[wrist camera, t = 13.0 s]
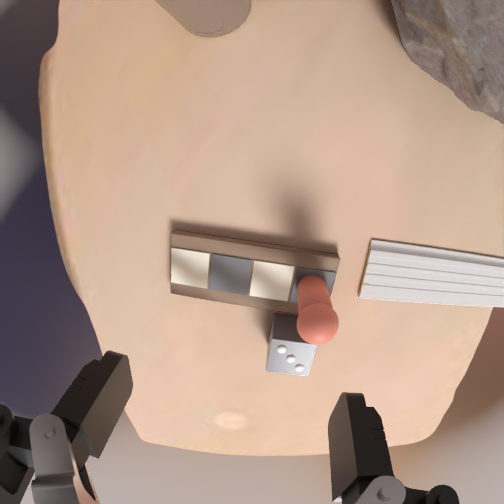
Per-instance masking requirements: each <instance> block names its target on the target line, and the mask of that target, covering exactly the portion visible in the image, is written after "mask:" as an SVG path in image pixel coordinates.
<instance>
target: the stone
mask: <svg viewBox="0 0 504 504" xmlns="http://www.w3.org/2000/svg"><path fill="white" fill-rule="evenodd" d="M391 3H392V6H393V10H394V14H395V18H396V23H397V27H398V31H399V34H400V37H401V41H402V45H403V47H404V48H405V50H406V52H407V54H408V56H409V57H410V59H411V60H412V61H413V62H414V63H416V64H417V65H418V66H419V67H420V68H421V69H422V70H424V71H425V72H427V73H428V74H430V75H431V76H432V77H433V78H435V79H436V80H438V81H439V82H441V83H443V84H445V85H446V86H448V87H449V88H450V89H451V90H453V92H454V93H455V95H456V96H457V97H458V98H459V99H460V100H461V101H462V102H463V103H464V104H466V105H467V106H468V107H469V108H470V109H472V110H475V111H481V112H484V113H486V114H487V115H489V116H490V117H492V118H494V119H496V120H498V121H500V122H501V123H502V124H504V0H391Z"/></svg>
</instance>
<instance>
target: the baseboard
mask: <svg viewBox="0 0 504 504" xmlns="http://www.w3.org/2000/svg"><path fill="white" fill-rule="evenodd" d="M358 297H359V298H365V299H377V300H390V301H403V302H417V303H431V304H448V305H465V306H486V307H504V259H502V258H496V257H490V256H484V255H478V254H471V253H465V252H458V251H452V250H445V249H438V248H431V247H424V246H417V245H410V244H403V243H396V242H388V241H381V240H373V239H371V243H370V247H369V252H368V256H367V261H366V265H365V269H364V273H363V277H362V281H361V285H360V289H359V293H358Z"/></svg>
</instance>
